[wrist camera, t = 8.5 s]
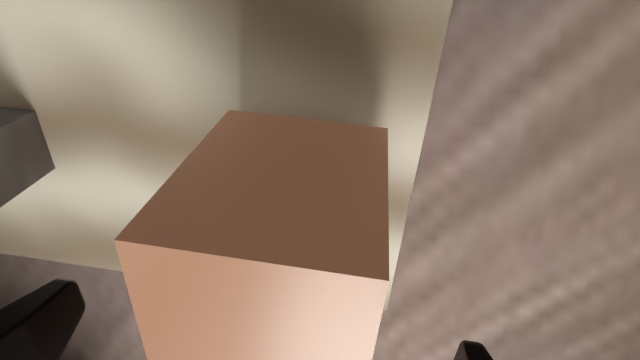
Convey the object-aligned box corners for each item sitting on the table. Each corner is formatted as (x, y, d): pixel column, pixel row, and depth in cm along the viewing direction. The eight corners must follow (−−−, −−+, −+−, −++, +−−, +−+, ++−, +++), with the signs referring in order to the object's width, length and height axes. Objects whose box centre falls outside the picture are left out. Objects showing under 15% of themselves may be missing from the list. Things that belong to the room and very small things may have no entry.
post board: (386, 294, 19) (386, 487, 13) (7, 239, 21) (-169, 383, 14) (453, -30, 12) (543, 18, 5) (-141, -73, 14) (-655, -79, 7)
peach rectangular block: (366, 250, 15) (356, 429, 10) (236, 231, 16) (156, 392, 10) (387, 128, 13) (389, 280, 7) (229, 109, 13) (113, 240, 8)
